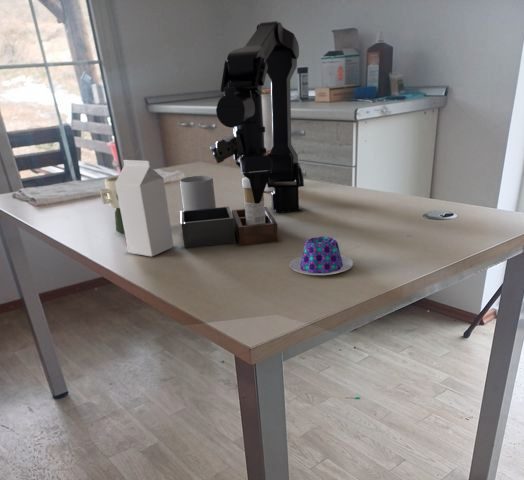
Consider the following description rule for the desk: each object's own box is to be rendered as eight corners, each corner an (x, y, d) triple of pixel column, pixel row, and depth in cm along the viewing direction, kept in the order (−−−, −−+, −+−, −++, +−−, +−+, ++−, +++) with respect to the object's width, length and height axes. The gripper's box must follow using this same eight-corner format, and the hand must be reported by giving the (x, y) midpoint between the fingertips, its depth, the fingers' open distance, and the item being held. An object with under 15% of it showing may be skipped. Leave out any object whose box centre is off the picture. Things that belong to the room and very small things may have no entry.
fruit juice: (249, 188, 166) (242, 90, 152) (275, 184, 169) (270, 88, 156) (264, 193, 158) (258, 91, 145) (290, 188, 162) (287, 88, 148)
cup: (211, 222, 133) (206, 182, 128) (180, 222, 134) (175, 182, 130) (220, 213, 140) (216, 175, 135) (191, 214, 142) (186, 176, 137)
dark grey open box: (230, 229, 126) (228, 206, 124) (235, 242, 116) (233, 218, 114) (183, 233, 125) (180, 210, 122) (184, 248, 115) (181, 223, 112)
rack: (267, 222, 129) (266, 206, 127) (278, 241, 115) (277, 223, 113) (233, 226, 128) (231, 210, 126) (240, 245, 114) (238, 227, 112)
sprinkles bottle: (264, 234, 121) (260, 174, 114) (268, 239, 117) (265, 177, 110) (244, 236, 120) (240, 176, 114) (248, 241, 116) (244, 179, 110)
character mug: (116, 240, 124) (104, 184, 118) (103, 234, 129) (91, 180, 122) (156, 229, 130) (147, 176, 123) (142, 225, 135) (133, 172, 128)
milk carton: (152, 257, 111) (136, 164, 102) (128, 253, 114) (110, 162, 105) (174, 247, 116) (160, 157, 107) (150, 244, 119) (135, 157, 110)
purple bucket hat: (329, 283, 92) (329, 255, 89) (277, 271, 99) (275, 244, 96) (365, 263, 99) (366, 236, 97) (314, 253, 107) (313, 228, 104)
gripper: (207, 120, 114) (215, 193, 122) (213, 129, 98) (221, 212, 105) (257, 116, 115) (262, 188, 123) (271, 124, 99) (275, 207, 106)
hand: (254, 198), depth 114 cm, fingers open, 9 cm apart
